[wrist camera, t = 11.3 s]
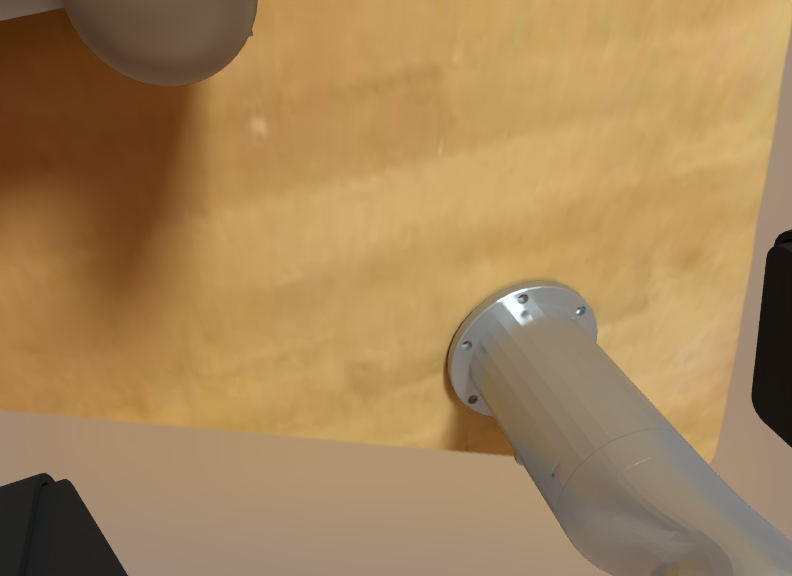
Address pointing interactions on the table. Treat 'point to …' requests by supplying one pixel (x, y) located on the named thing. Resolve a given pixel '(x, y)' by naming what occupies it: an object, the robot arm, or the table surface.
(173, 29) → the headboard
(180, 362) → the table surface
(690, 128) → the table surface
